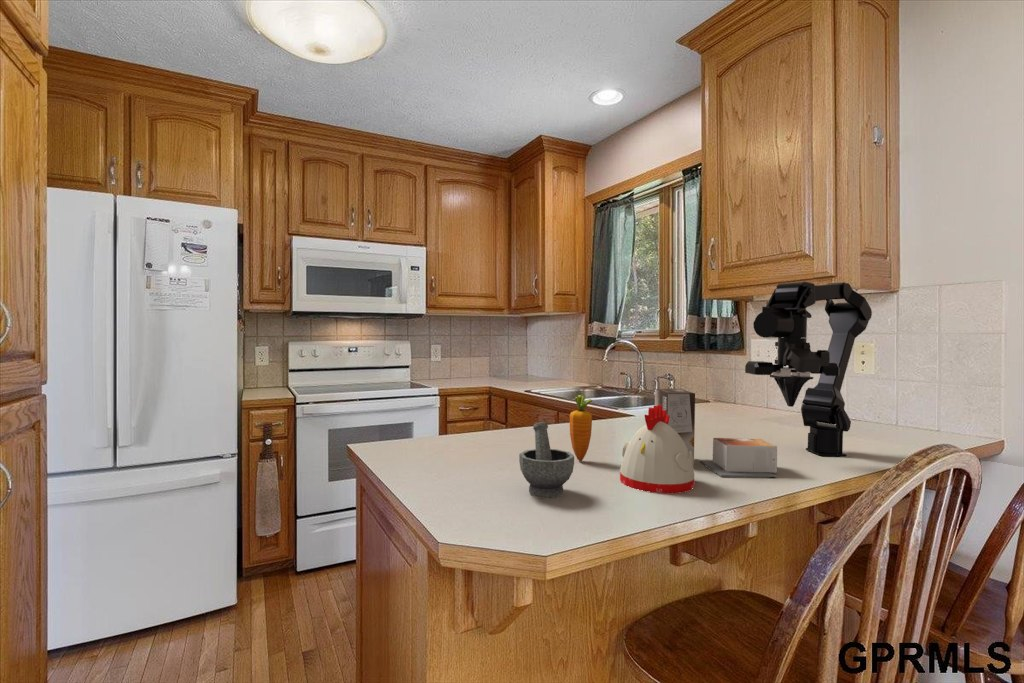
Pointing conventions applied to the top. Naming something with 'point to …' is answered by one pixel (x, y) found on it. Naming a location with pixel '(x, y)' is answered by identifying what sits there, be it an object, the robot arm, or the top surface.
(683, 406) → the coffee box
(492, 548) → the top surface
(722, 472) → the mat
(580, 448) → the carrot
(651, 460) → the kitchen timer
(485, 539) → the top surface
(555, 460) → the mortar and pestle
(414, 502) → the top surface
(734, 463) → the small box
